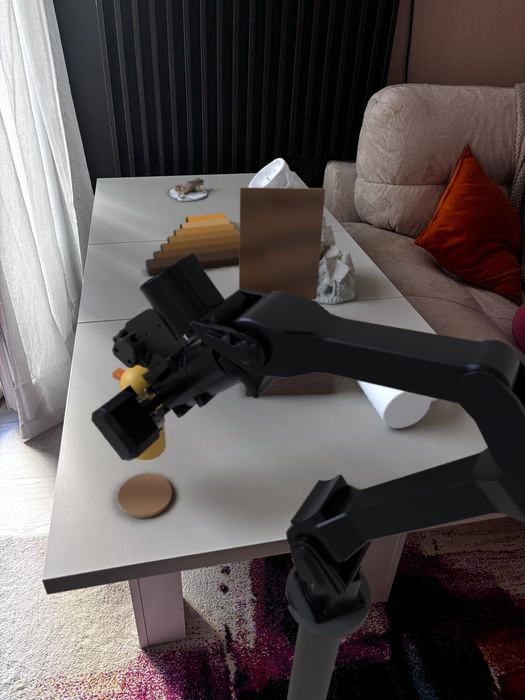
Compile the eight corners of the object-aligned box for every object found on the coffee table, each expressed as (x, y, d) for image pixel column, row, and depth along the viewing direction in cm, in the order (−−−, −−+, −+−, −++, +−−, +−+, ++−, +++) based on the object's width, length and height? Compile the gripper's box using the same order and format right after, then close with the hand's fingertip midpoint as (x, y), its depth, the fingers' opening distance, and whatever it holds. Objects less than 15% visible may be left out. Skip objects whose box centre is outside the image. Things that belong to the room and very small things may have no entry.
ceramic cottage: (265, 275, 124) (273, 213, 115) (330, 269, 130) (343, 209, 121) (292, 314, 113) (303, 248, 104) (362, 305, 119) (378, 242, 110)
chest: (332, 393, 92) (337, 363, 88) (245, 395, 90) (246, 365, 87) (312, 328, 108) (316, 300, 104) (238, 329, 106) (238, 301, 103)
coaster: (177, 510, 71) (177, 507, 71) (122, 524, 69) (122, 521, 69) (165, 471, 77) (165, 468, 76) (114, 483, 74) (114, 480, 74)
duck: (173, 443, 70) (167, 365, 63) (149, 465, 67) (140, 386, 60) (136, 424, 73) (127, 347, 66) (112, 445, 70) (99, 366, 62)
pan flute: (149, 277, 122) (255, 262, 130) (148, 263, 120) (255, 249, 128) (128, 232, 140) (222, 222, 148) (127, 219, 138) (222, 210, 146)
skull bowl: (310, 197, 163) (291, 162, 155) (269, 223, 165) (249, 190, 157) (300, 185, 171) (282, 151, 163) (262, 210, 173) (242, 177, 165)
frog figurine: (193, 184, 172) (193, 172, 169) (216, 195, 164) (215, 183, 162) (161, 191, 166) (160, 178, 163) (183, 203, 158) (182, 190, 156)
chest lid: (325, 189, 95) (320, 184, 99) (240, 188, 93) (238, 183, 97) (316, 299, 104) (312, 291, 108) (239, 300, 102) (237, 292, 106)
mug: (379, 432, 85) (388, 392, 80) (353, 392, 93) (360, 353, 88) (447, 420, 88) (460, 381, 83) (416, 382, 96) (426, 344, 91)
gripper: (214, 267, 62) (146, 320, 72) (92, 346, 48) (30, 396, 59) (271, 347, 63) (196, 388, 74) (167, 446, 50) (94, 477, 61)
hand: (135, 408), depth 67 cm, fingers closed on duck, 4 cm apart
